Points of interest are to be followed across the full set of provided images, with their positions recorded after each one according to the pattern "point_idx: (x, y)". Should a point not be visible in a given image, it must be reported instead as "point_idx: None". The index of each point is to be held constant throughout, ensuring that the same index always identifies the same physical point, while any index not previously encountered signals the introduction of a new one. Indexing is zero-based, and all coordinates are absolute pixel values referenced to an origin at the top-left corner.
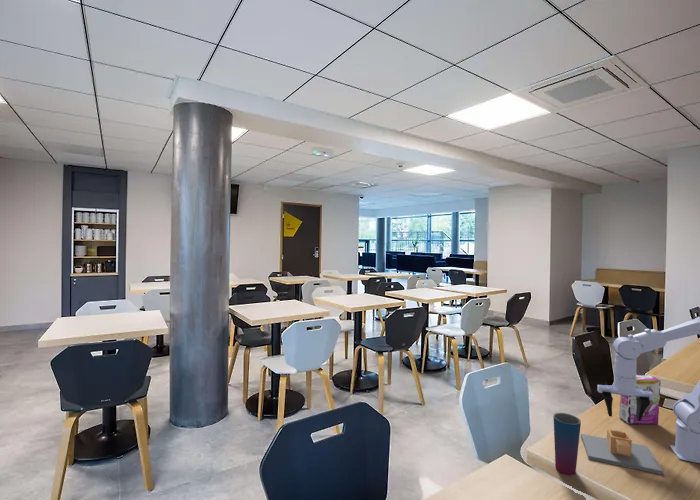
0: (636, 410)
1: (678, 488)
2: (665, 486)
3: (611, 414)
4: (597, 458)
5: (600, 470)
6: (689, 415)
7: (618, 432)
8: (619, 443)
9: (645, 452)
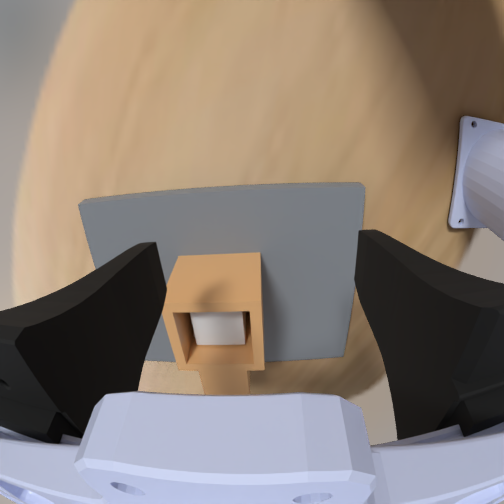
0: (384, 254)
1: (349, 385)
2: (320, 391)
3: (159, 305)
4: (154, 357)
5: (167, 387)
6: None
7: (216, 308)
8: (211, 392)
9: (334, 256)
